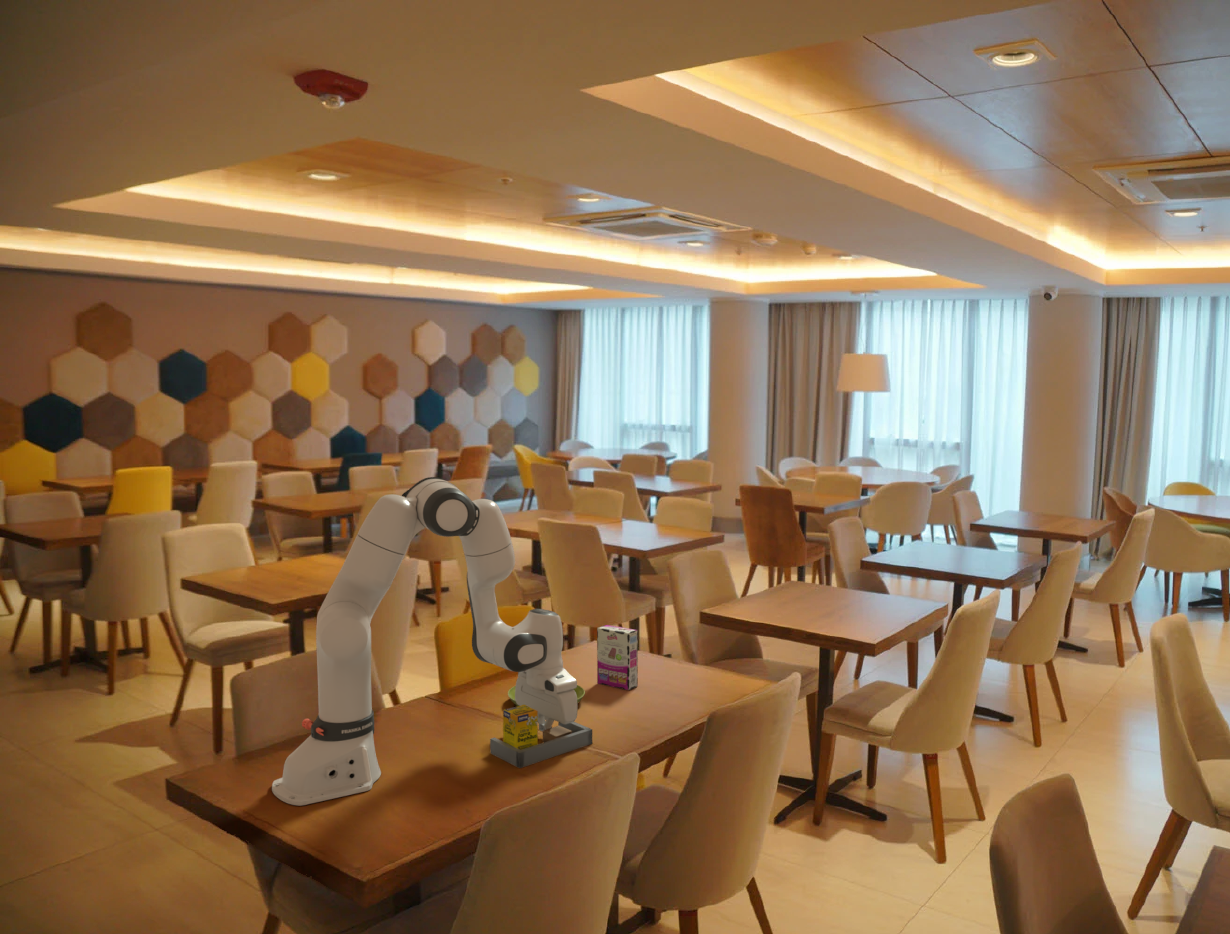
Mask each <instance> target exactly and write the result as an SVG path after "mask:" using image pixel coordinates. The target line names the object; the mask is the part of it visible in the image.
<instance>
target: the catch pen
mask: <svg viewBox="0 0 1230 934" xmlns="http://www.w3.org/2000/svg"><path fill="white" fill-rule="evenodd" d="M557 723H558V725H557V726H561V727H564V728H566V729H569V730H571V731H572V734H569V735H566V736H563V737H560V738H557V739H554V740H550V741H547V742H541V743H538V745H535V746H532V747H529V748H526V749H523V750H519V749H517V748H515V747H513V746H511V745H509V744H507V743H505V742H503V741H502V740H501V739H498V738H497V737H491V738H489V743H490V744H489V746H490V747H489V749H490V751H489V753H490V754H491V755H493V756H495V757H497V758H499V759H501V760H503V761H504V762H506V763H508V764H511V765H512V766H514V767H516V768H519V769H522V768H524V767H527V766H531V765H533V764H536V763H539V762H542V761H546V760H548V759H551V758H554V757H556V756H560V755H563V754H566V753H569V752H571V751H575V750H577V749H581V748H583V747H586V746H589V745H592V744H593V729H592V728H590V727H587V726H585V725H582V724H580V723H578V722H576V721H574V722H571V723H568V724H562V723H560V722H557Z"/></svg>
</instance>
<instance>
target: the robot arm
mask: <svg viewBox="0 0 1230 934" xmlns="http://www.w3.org/2000/svg"><path fill="white" fill-rule="evenodd" d="M424 529H426V530H428V531H431V533H433V534H435V535H436V536H440V537H447V538H448V537H449V538H450V537H458V538H459V539H460V542H461V547H462V551H463V553H464V559H465V563H466V568H467V571H466V586H467V587H466V589H467V594H468V599H469V600H468V601H469V605H470V607H469V608H470V612H471V618H472V635H471V647H472V652H473V654H474V655H475V657H476V658H477V659H478V660H479V661H482V662H483V663H488V664H491V665H494V666H497V667H500V668H502V669H505V670H507V671H510V672H514V673H517V678H516V682H515V686H516V688H515V701H516V703H517V705H520V706H521V705H526V706H528V707H530V708H532V709H535V710H536V711H538V731H540V732H542V733H543V730H546V729H549V728H553V727H552V726H553V724H554V722H557V723H558V722H560V723H562V724H568V723H571V722H576V720H577V718H578V717H577V716H578V703H577V695H576V692H575V690H574V688H576V687H577V685H578V682H577V679H576V678H575V677H574V676H573V675H572V674H570V673H569V671H567V669H565V667H564V660H563V657H562V651H563V646H564V638H563V637H564V635H563V634H564V633H563V632H564V631H563V624H562V619H561V616H560V615H559V614H558V613H557V612H555V611H552V610H550V609H543V608H533V609H530V610H529V611H528V612H527V615H526V616H525V617H524V618H523V620H522V621H520V622H519V623H518V624H516V625H514V626H510V625H508V624H506V623H505V622H504V621H503V620H502V619H501V617H500V615H499V610H498V604H497V599H496V593H495V592H496V591H495V588H496V585H497V584H499V583H501V582H503V581H505V580H506V579H507V578H508V577H509V576H510V575H511V574H512V572H513V570H514V568H515V566H516V556H515V555H516V554H515V548H514V545H513V541H512V537H511V535H510V534H511V533H510V530H509V528H508V525H507V523H506V519H505V517H504V515H503V512H502V510H501V509H500V507H499V505H498V504H497V503H496V501H493V500H491V499H487V498H478V499H474V500H472V499H471V498H470V497H469V496H468V495H467V494H465V493H464V492H463V491H462V490H460V489H459V487H457V486H456V485H455V484H453V483H451V482H450V481H447V480H445V479H444V478H441V477H436V476H428V477H425V478H422V479H420V480H419V481H418V482H416V483H414V484H413V485H412V487H410V488H409V489H407V490H406V491H404V492H403V493H402V494H401V495H399V494H393V493H391V494H385V495H382V496H381V497H379V499H378V500H377V501H376V502H375V504H374V505H373V506H372V508H371V509H370V511H369V512H368V514H367V516H366V517H365V519H364V521H363V522H362V524H361V525H360V527H359V529H358V532H357V534H356V536H355V538H354V541H353V542H352V545H351V547H350V549H349V552H348V554H347V555H346V558H345V560H344V562H343V564H342V566H341V568H340V570H339V571H338V573H337V575H336V577H335V579H334V580H333V583H332V584H331V587H330V588H329V590H328V592H327V594H326V596H325V598H324V600H323V602H322V603H321V606H320V608H319V610H318V611H317V615H316V626H315V627H316V629H315V639H316V641H315V643H316V645H315V646H316V664H317V665H316V669H317V671H316V672H317V686H318V687H317V694H318V695H317V701H318V715H317V716H316V719H315V720H314V721H313V720H311V719H310V718H304V719H303V720H302V722H301V727H302V728H304V729H306V730H308V731H310V735H309V736H308V737H307V738H306V739H305V740H304V741H303V742H301V743H300V745H299V746H298V747H297V748H296V749H294V750H293V751H292V752H291V753H290V754H289V755H288V756H287V757H286V760H285V761H284V764H283V771H282V777H280V778H277V779H275V780H273V782H272V784H271V791H272V794H273V795H274V796H275V797H276V798H278V799H279V800H280V801H282V802H283V803H286V804H288V805H292V806H297V807H298V806H300V807H301V806H306V805H310V804H311V805H312V804H315V803H319V802H323V801H329V800H332V799H338V798H341V797H346V796H350V795H354V794H359V793H363V792H367V791H370V790H372V788H373V784H374V783H375V782H377V780H379V778H380V777H381V774H382V771H381V768H380V765H379V763H378V762H379V761H378V758H377V755H376V747H375V739H374V734H375V714H374V710H373V709H372V708H373V706H372V705H373V704H372V703H373V702H372V628H371V622H372V619H373V617H374V615H375V612H376V611H377V609H378V608H379V605H380V604H381V601H383V599H384V597H385V595H386V594H387V592H388V591H389V589H390V588H391V586H392V584H393V581H394V579H395V578H396V575H397V573H398V571H399V569H400V566H401V564H402V562H403V560H404V558H405V556H406V554H407V551H408V549H409V547H410V545H411V541H413V539H414V537H415V536H416V535H417V534H418V533H420V531H422V530H424Z"/></svg>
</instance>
